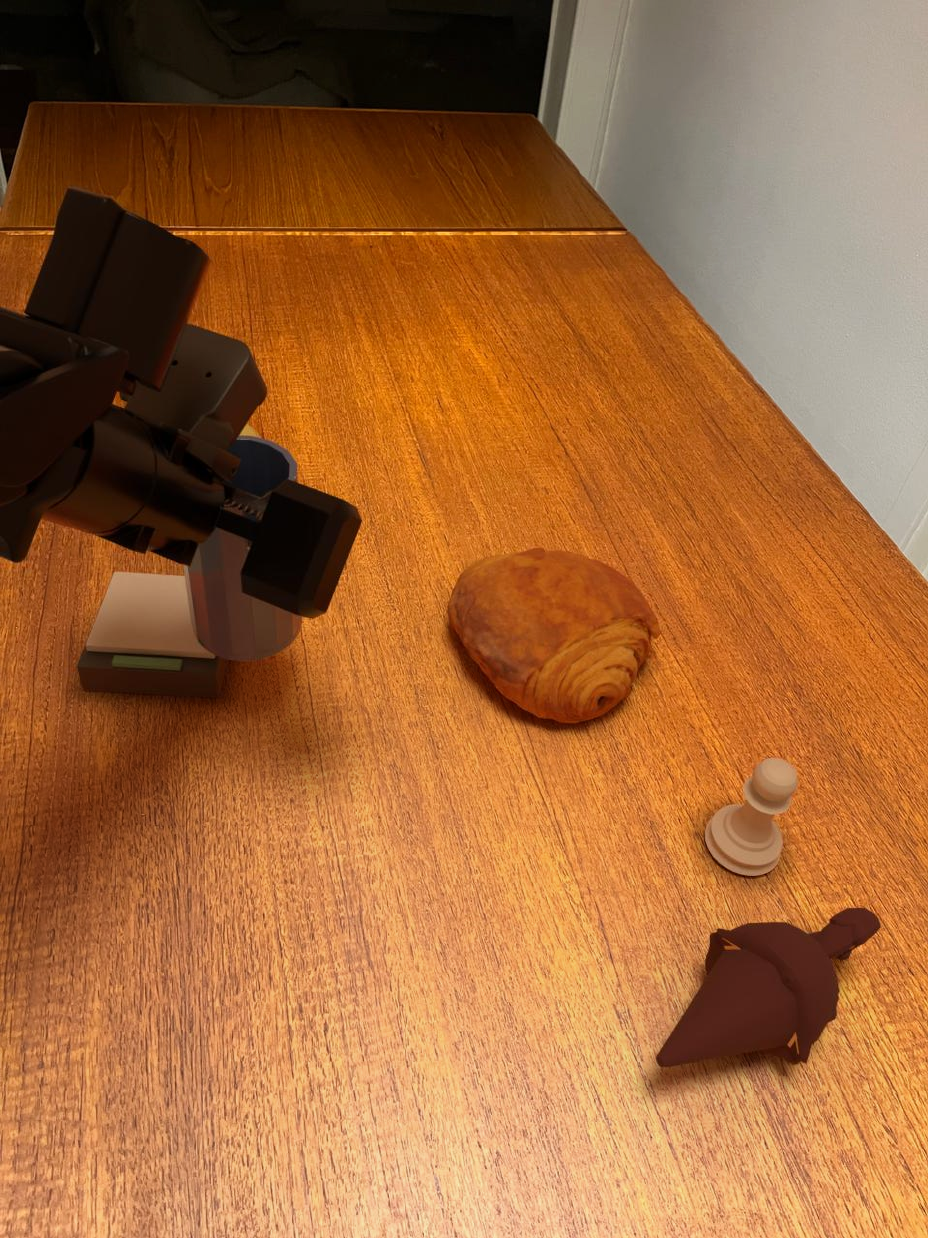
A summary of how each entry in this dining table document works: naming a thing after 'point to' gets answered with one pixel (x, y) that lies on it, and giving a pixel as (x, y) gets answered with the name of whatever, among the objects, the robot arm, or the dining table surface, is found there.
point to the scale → (148, 641)
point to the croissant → (554, 630)
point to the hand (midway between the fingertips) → (254, 531)
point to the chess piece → (753, 821)
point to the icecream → (767, 990)
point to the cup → (214, 574)
